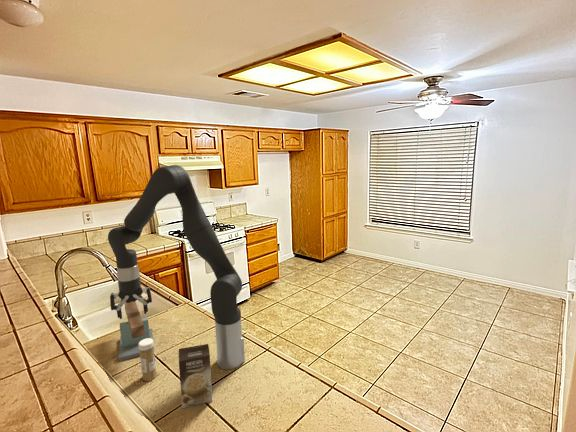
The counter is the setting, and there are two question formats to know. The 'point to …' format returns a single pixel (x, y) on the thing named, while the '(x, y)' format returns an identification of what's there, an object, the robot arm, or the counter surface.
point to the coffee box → (195, 375)
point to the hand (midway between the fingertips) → (133, 315)
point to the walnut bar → (134, 319)
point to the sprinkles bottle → (147, 359)
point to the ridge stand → (132, 340)
